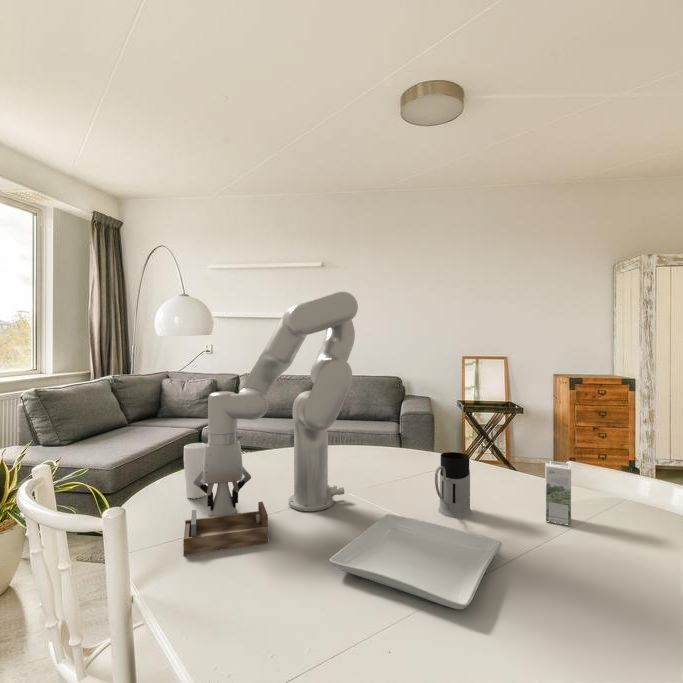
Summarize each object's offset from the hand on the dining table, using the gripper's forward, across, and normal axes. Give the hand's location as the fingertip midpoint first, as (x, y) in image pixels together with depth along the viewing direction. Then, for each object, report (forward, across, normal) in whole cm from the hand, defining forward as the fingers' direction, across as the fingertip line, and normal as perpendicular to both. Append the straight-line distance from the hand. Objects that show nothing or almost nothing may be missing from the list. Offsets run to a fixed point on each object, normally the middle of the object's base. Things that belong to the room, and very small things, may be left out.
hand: (222, 506), depth 112 cm
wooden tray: (+2, 0, +15) cm, 15 cm away
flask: (+2, 0, 0) cm, 2 cm away
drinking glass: (+2, +7, -16) cm, 18 cm away
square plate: (+3, -37, +39) cm, 54 cm away
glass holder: (+2, -57, +19) cm, 60 cm away
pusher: (+1, +7, +15) cm, 17 cm away
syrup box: (+2, -81, +31) cm, 87 cm away
